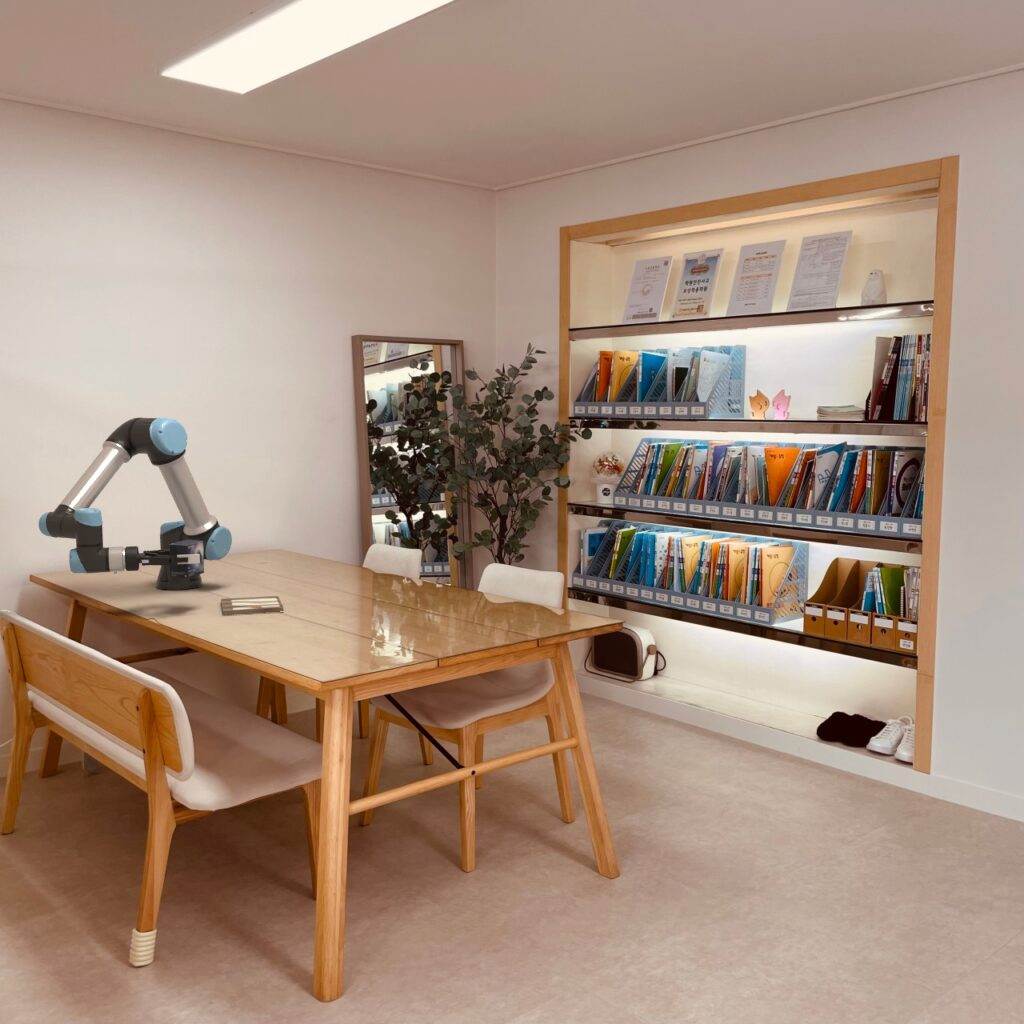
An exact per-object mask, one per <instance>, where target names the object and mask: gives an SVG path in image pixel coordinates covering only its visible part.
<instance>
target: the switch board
mask: <svg viewBox="0 0 1024 1024" xmlns="http://www.w3.org/2000/svg"><path fill="white" fill-rule="evenodd" d="M220 604H221V605H222V606H221V611H223V612H222V616H223V615H227V616H235V615H234V614H245V615H251V614H250V613H263V614H267V613H266V612H280V611H284V605H283V604H282V601H281V600H280V597H279V595H267V596H249V597H232V598H231V597H230V598H220ZM280 613H281V612H280ZM232 614H233V615H232Z"/></svg>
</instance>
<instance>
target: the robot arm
mask: <svg viewBox="0 0 1024 1024" xmlns="http://www.w3.org/2000/svg"><path fill="white" fill-rule="evenodd" d="M187 440H188V434H187V431H186V429H185V427H184V426H183V425H182V423H181V422H179V421H177V419H173V418H168V417H134V418H131V419H130V418H129V420H127V421H124V422H123V423H122V424H121V425H120V426H118V427H117V428H116V429H114V431H112V432H111V433H110V434H109V436H108V437H107V438H106V439H105V440H104V442H103V444H102V449H101V451H100V452H99V454H98V455H97V456H96V457H95V458H94V459H93V461H92V462H91V463H90V465H89V466H88V467H87V469H86V470H85V472H84V473H83V474H82V475H81V476H80V478H79V479H78V480H77V481H76V483H75V484H74V485H73V486H72V488H71V489H70V490H69V491H68V493H67V494H66V495H65V496H64V497H63V499H62V500H61V502H60V503H59V504H58V506H57V507H56V508H55V509H54V510H53V511H48V512H44V513H43V514H42V515H41V516H40V517H39V519H38V528H39V529H38V530H39V531H40V533H41V534H43V535H44V536H47V537H51V538H55V539H56V538H59V539H60V538H61V539H72V540H75V543H76V544H75V548H71V549H70V550H69V554H68V556H69V557H68V559H69V560H68V562H69V570H70V571H71V572H72V573H73V574H86V575H87V574H96V573H99V574H100V573H113V574H116V575H117V573H118V572H124V571H126V572H136V571H137V572H138V571H139V570H140V564H141V566H143V567H146V566H160V568H159V572H158V576H157V577H156V589H158V588H159V589H160V590H164V589H167V590H168V591H181V589H183V590H191V589H192V590H193V589H196V588H200V587H202V586H203V581H202V576H201V574H199V575H196V576H193V577H190V578H170V566H174V567H177V564H194V563H200V554H190V555H177V556H170V554H169V553H170V552H169V544H172V543H176V542H179V541H183V540H198V541H203V547H204V560H205V561H221V560H222V559H224V558H225V557H226V556H227V555H228V554H229V552H230V550H231V546H232V543H233V535H232V532H231V531H230V529H229V528H227V527H226V526H223V525H220V523H219V521H218V519H217V517H216V516H215V515H213V514H210V512H209V510H208V508H207V505H206V503H205V501H204V498H203V497H202V494H201V492H200V489H199V488H198V485H197V484H196V481H195V479H194V476H193V474H192V471H191V470H190V467H189V465H188V463H187V461H186V458H185V454H186V453H187V450H186V449H187V445H188V441H187ZM139 454H144V455H146V456H147V457H148V459H149V462H150V463H151V464H152V466H155V467H158V468H159V472H160V473H161V475H162V477H163V480H164V481H165V484H166V486H167V488H168V490H169V493H170V494H171V497H172V499H173V501H174V503H175V506H176V507H177V509H178V511H179V513H180V516H181V519H182V520H175V521H169V522H163V523H162V524H161V525H160V531H159V543H160V544H159V545H160V548H159V549H153V550H144V551H143V552H140V553H139V546H138V545H132V546H130V545H129V546H125V548H124V546H109V547H104V538H103V537H104V535H103V534H104V532H103V528H104V527H103V523H104V522H103V517H102V510H101V509H99V508H96V507H91V506H92V505H93V504H94V502H95V501H96V499H97V498H98V497H99V496H100V494H101V493H102V492H103V490H104V489H105V488H106V486H108V484H109V482H110V481H111V480H112V478H113V477H114V476H115V474H117V472H118V470H120V468H121V467H122V466H123V464H127V463H129V462H130V461H131V460H132V458H133V457H135V456H136V455H139Z"/></svg>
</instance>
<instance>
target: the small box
mask: <svg viewBox="0 0 1024 1024" xmlns="http://www.w3.org/2000/svg"><path fill="white" fill-rule="evenodd" d="M169 552H170V553H169V554H170V556H177V555H190V554H200V563H194V564H177V567H174V566H170V578H190V577H193V576H196V575H199V574H200V575H201V574H205V561H204V560H205V559H204V547H203V541H198V540H183V541H179V542H176V543H172V544H169Z"/></svg>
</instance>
